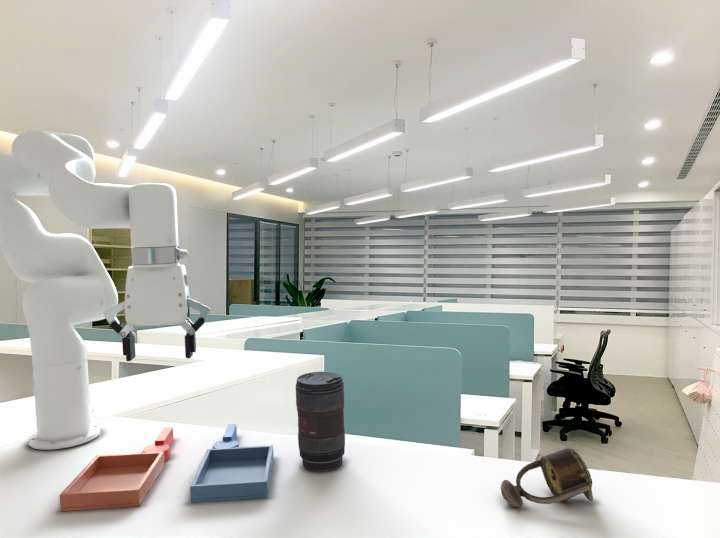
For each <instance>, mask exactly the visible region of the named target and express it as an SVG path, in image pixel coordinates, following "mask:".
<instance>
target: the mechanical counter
mask: <svg viewBox="0 0 720 538" xmlns="http://www.w3.org/2000/svg"><path fill="white" fill-rule="evenodd" d="M538 468H540V469H541V472H542V474H543V477H544V480H545V482H546V485H547V488H548V489H549V491H550V493H551V494H552V495H551V496H545V497H543V496H538V495H533V494H531V493H529V492H527V491H526V490H524V488H523V487H522V485H521V480H522V478H523V476H524V475H525V474H527V472H529V471H531V470H534V469H538ZM515 483H516V485H514V484H513V483H512V482H511V481H510V480H508V479H503V481H502V482H501V484H500V492H501V496H502V497H503V499H504V500H505V502H506V503H507V504H509V505H510V506H512V507H515V508H521V507H522V506H523V505H524V501H523V499H522V498H525V499H526V500H527V501H529V502H532V503H536V504H539V505H540V504H542V505H551V504H555V503H556V504H557V503H559V502H562V501H566V500H568V499H571V498H574V497H576V496H579V495H582V494H583V496H584V497H585V498H586V499H587V500H588V501H589V502H591V503H592V502H593V501H594V497H593V490H592V489H593V479H592V477H591V474H590V470H589V469H588V467H587V464H586V462H585V461H584V460H583V458H582V456H581V454H579V452H578V451H577V450H575V449H574V448H572V447H570V446H567V447H565V448H563V449H560V450H557V451H555V452H552V453H549V454H545V455H543V456H541V457H540V459H538V460H535V461H532V462H530V463H528V464H525V466H523V467H522V468H521V469H520V470H519V471H518V472H517V474H516V478H515Z"/></svg>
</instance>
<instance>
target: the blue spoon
mask: <svg viewBox="0 0 720 538" xmlns="http://www.w3.org/2000/svg"><path fill="white" fill-rule="evenodd" d="M237 429H238V428H237V424H236V423H228V424H227V426H226V428H225V430H224V433H223V435H222V440H219V441H216V442H215V443H213V444H212V449H219V448H236V447H239V442H238V441H237V437H238V432H237V431H238V430H237Z"/></svg>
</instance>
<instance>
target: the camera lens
mask: <svg viewBox="0 0 720 538" xmlns="http://www.w3.org/2000/svg"><path fill="white" fill-rule="evenodd" d="M295 405H296V406H295V407H296V411H297V429H298V430H297V431H298V432H297V442H298V443H297V444H298V451H299V456H300V459H301V461H302V466H303V467H304V468H305V469H306V470H309V471H314V472H329V471H332V470H335V469H338V468H339V467H341V466H342V464H343V456H344V455H345V453H346V452H345V450H346V449H345V448H346V430H345V414H344V413H345V412H344V410H345V382H344V381H343V376H342V375H341V374H339V373H338V372H333V371H312V372H307V373H303V374H301V375H299V376H297V377H296V383H295Z"/></svg>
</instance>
